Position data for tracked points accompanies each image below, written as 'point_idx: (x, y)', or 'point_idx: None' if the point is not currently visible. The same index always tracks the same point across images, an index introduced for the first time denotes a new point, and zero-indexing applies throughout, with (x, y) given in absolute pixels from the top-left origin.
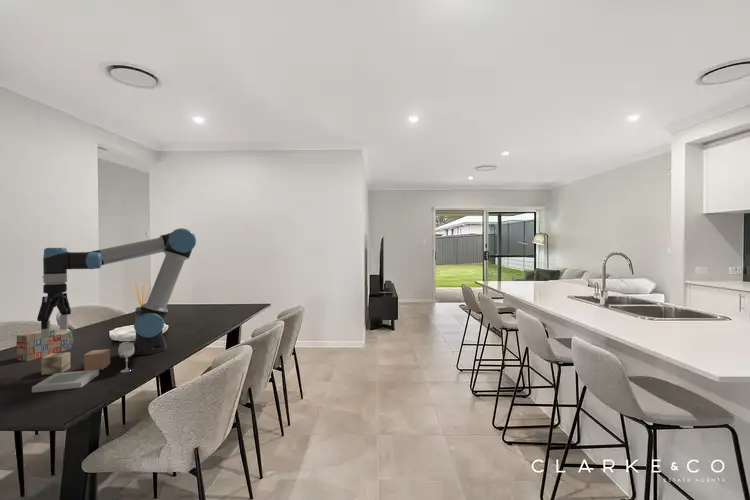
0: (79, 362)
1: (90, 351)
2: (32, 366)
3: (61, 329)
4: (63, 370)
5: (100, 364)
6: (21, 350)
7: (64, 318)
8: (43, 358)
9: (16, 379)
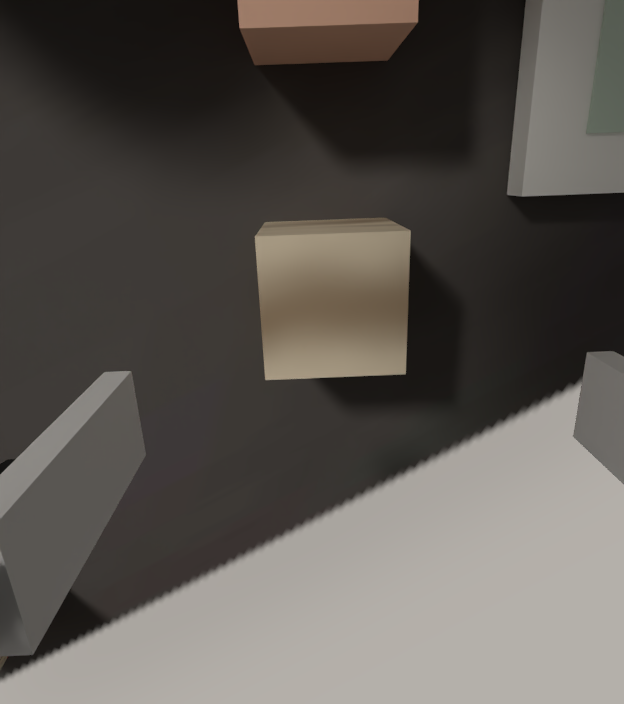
0: (133, 225)
1: (284, 20)
2: (174, 482)
3: (140, 436)
4: (364, 219)
5: None
6: (1, 659)
7: (54, 512)
8: (405, 359)
9: (431, 421)
